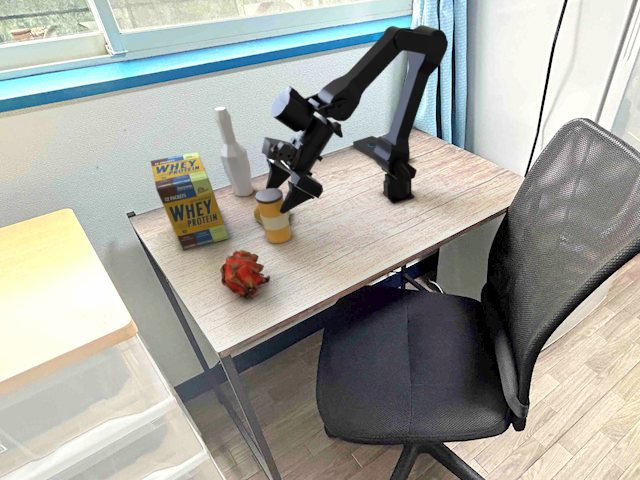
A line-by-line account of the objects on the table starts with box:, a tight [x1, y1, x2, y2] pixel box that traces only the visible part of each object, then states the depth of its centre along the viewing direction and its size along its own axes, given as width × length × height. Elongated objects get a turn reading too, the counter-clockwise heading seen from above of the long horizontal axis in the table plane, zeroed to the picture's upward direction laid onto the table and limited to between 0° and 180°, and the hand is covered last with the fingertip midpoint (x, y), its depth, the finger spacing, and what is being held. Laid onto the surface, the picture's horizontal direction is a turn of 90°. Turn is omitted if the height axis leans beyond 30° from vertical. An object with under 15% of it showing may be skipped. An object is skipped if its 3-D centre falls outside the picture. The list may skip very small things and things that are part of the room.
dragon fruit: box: [219, 249, 271, 300], centre depth 85 cm, size 8×8×12 cm
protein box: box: [150, 152, 229, 251], centre depth 99 cm, size 10×15×16 cm
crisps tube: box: [255, 188, 292, 244], centre depth 97 cm, size 6×6×11 cm
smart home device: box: [352, 135, 411, 163], centre depth 133 cm, size 8×2×20 cm
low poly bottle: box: [214, 106, 254, 197], centre depth 110 cm, size 6×6×22 cm
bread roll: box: [253, 204, 291, 226], centre depth 106 cm, size 8×9×4 cm
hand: (273, 203), depth 96 cm, fingers open, 9 cm apart
